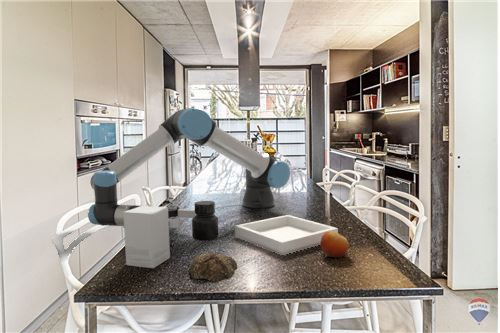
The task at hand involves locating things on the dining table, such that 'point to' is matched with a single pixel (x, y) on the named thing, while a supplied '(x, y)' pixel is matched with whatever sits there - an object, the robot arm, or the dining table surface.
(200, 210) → the ink bottle
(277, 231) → the tray
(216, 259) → the brown lumpy mound
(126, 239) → the supplement box
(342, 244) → the fruit
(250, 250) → the dining table surface
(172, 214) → the robot arm
